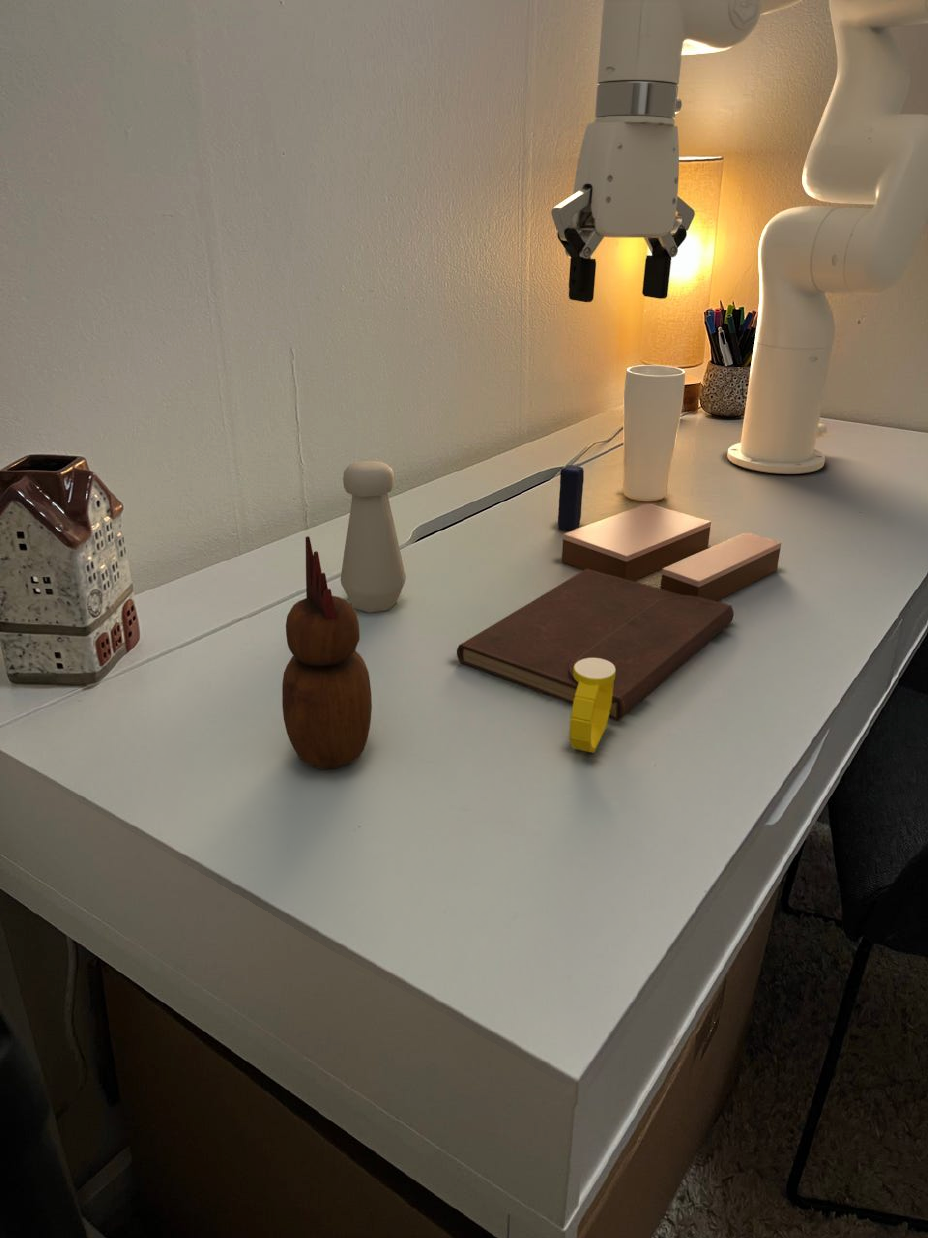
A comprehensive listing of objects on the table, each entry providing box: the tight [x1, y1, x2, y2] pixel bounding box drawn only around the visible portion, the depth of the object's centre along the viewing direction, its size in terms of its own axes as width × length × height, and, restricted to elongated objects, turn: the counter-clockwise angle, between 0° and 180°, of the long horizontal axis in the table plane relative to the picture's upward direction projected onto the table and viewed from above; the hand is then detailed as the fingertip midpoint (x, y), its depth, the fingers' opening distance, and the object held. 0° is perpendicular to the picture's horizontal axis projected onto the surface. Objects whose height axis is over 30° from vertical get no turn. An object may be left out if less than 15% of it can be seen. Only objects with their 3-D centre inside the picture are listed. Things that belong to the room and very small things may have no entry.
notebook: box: [456, 569, 734, 722], centre depth 77 cm, size 15×20×2 cm
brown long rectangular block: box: [659, 531, 782, 602], centre depth 88 cm, size 14×4×3 cm, turn 133°
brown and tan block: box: [561, 502, 712, 582], centre depth 94 cm, size 14×8×3 cm, turn 133°
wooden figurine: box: [281, 536, 373, 770], centre depth 59 cm, size 7×6×15 cm
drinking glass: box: [622, 364, 686, 503], centre depth 109 cm, size 7×7×15 cm
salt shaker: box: [340, 460, 407, 614], centre depth 81 cm, size 6×6×13 cm
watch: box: [569, 658, 616, 754], centre depth 63 cm, size 6×3×6 cm, turn 157°
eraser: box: [557, 464, 585, 532], centre depth 101 cm, size 2×2×7 cm
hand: (618, 298), depth 94 cm, fingers open, 9 cm apart
